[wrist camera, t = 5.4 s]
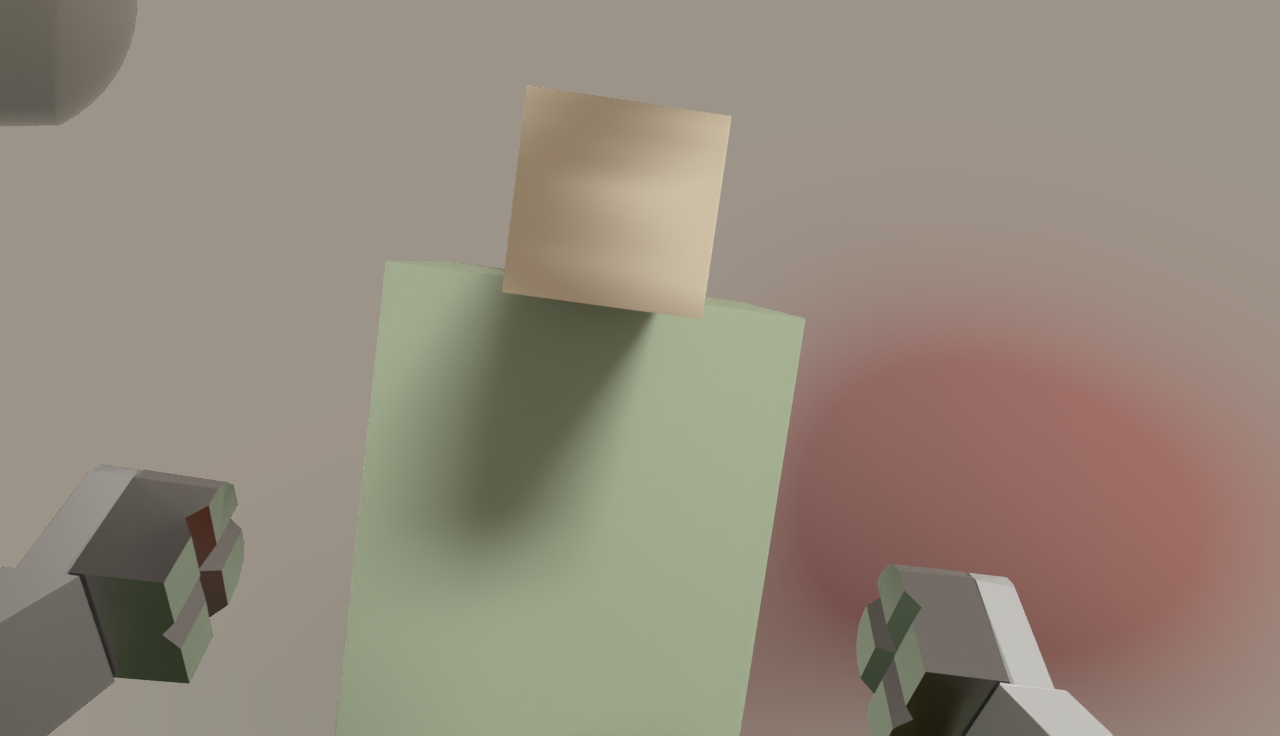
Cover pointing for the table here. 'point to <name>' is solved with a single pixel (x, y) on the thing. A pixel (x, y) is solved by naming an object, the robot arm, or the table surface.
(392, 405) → the pedestal
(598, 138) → the block
